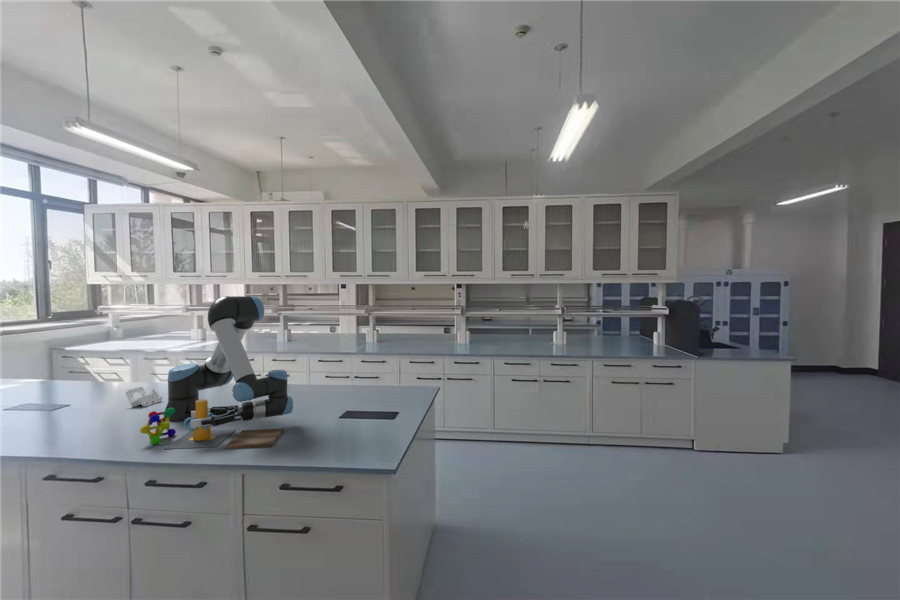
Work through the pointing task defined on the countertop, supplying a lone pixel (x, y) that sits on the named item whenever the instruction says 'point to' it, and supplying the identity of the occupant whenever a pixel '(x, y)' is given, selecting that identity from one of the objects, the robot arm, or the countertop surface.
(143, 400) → the mounting bracket
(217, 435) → the mat
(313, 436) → the countertop surface
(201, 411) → the cylinder
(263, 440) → the board
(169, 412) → the molecular model
